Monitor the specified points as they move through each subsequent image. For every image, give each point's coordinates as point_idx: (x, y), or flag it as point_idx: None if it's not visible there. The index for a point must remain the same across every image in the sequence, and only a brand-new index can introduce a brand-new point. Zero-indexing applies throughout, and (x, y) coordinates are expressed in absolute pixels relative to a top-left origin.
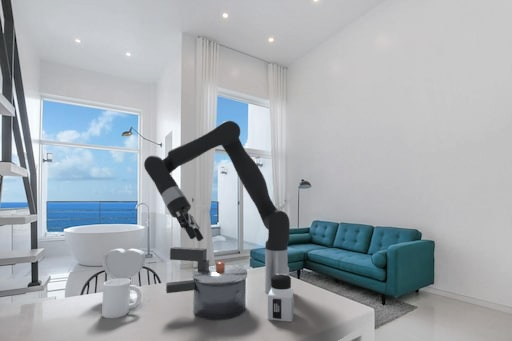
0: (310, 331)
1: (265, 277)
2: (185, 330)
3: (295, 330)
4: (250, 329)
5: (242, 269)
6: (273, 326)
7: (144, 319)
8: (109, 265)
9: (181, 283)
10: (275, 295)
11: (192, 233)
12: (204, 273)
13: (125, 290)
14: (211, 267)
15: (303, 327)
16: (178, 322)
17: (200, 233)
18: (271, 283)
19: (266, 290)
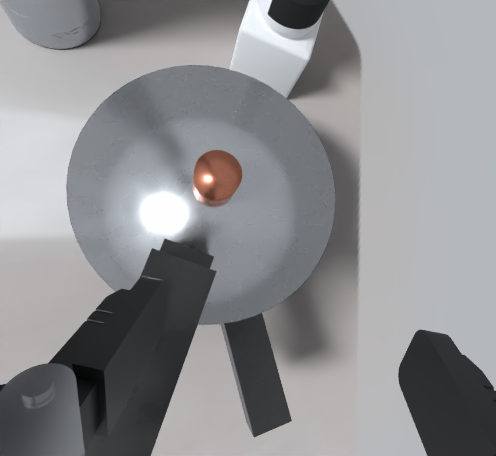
0: (342, 32)
1: (27, 4)
2: (330, 304)
3: (337, 59)
4: (330, 150)
5: (181, 80)
6: (318, 97)
7: (259, 446)
8: None
9: (269, 360)
10: (314, 39)
11: (483, 381)
12: (239, 262)
13: None
14: (118, 232)
15: (325, 38)
16: (285, 332)
17: (140, 318)
18: (301, 19)
19: (64, 43)
